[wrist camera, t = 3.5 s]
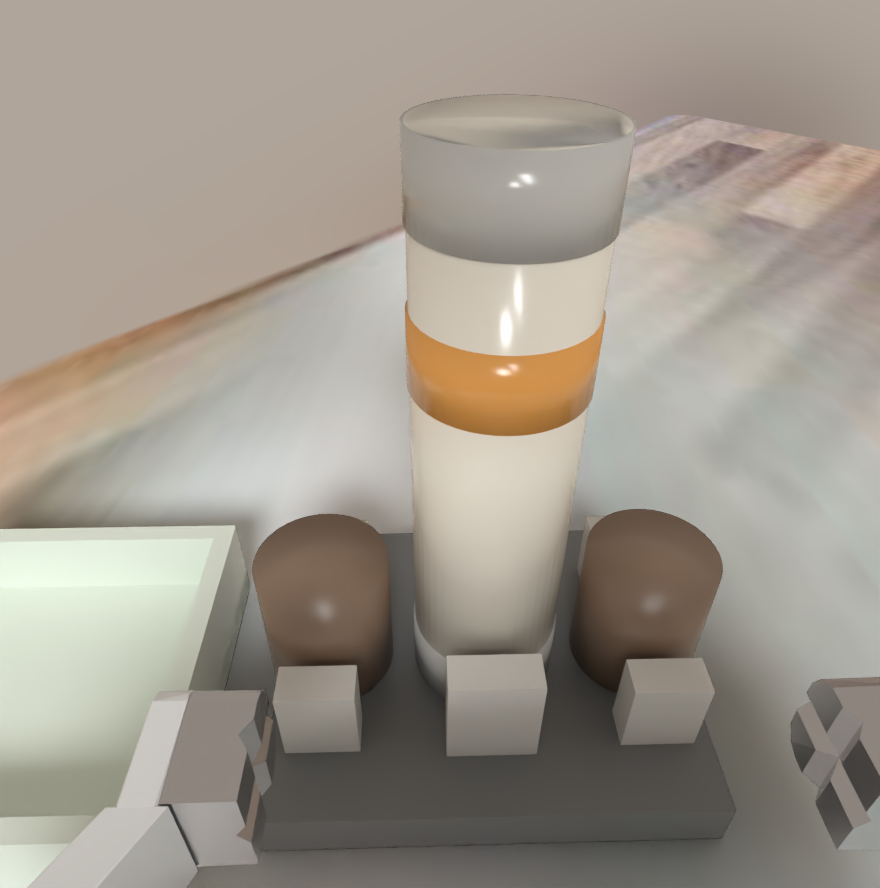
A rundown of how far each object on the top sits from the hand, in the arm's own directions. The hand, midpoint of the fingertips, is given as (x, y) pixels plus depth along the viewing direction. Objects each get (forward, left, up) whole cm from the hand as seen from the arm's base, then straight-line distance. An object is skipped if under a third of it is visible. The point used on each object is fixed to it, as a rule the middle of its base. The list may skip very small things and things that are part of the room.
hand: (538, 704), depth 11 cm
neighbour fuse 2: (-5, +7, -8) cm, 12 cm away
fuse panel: (0, +7, -10) cm, 12 cm away
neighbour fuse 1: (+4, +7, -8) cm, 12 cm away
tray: (-13, +6, -10) cm, 18 cm away
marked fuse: (0, +7, -8) cm, 11 cm away
